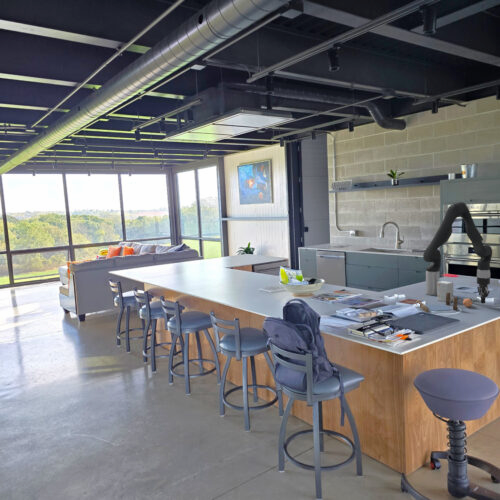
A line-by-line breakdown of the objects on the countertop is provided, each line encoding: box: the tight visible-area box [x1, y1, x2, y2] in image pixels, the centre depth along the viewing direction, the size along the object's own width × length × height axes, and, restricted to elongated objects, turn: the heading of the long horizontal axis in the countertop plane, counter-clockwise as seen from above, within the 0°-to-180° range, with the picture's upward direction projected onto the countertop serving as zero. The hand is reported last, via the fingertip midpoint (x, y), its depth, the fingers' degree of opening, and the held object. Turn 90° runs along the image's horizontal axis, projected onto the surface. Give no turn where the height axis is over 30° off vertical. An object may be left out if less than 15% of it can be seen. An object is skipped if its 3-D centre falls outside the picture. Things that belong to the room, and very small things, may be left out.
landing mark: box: [424, 304, 452, 312], centre depth 281 cm, size 13×13×1 cm
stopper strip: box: [415, 300, 430, 313], centre depth 282 cm, size 20×2×2 cm, turn 175°
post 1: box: [445, 293, 451, 306], centre depth 286 cm, size 3×3×8 cm
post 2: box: [452, 296, 459, 311], centre depth 273 cm, size 3×3×8 cm
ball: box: [462, 298, 473, 308], centre depth 279 cm, size 6×6×6 cm
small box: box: [436, 280, 454, 303], centre depth 296 cm, size 8×6×13 cm
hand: (483, 302), depth 278 cm, fingers closed
